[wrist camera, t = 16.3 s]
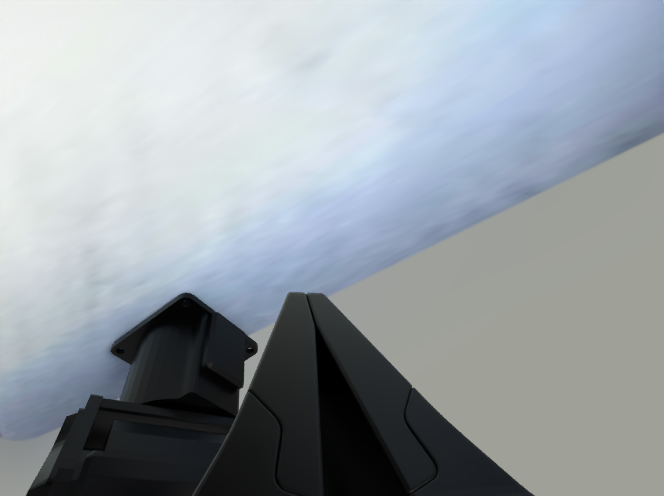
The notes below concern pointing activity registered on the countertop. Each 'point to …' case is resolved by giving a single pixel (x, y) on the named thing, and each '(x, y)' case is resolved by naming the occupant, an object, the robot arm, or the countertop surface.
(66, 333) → the countertop surface
